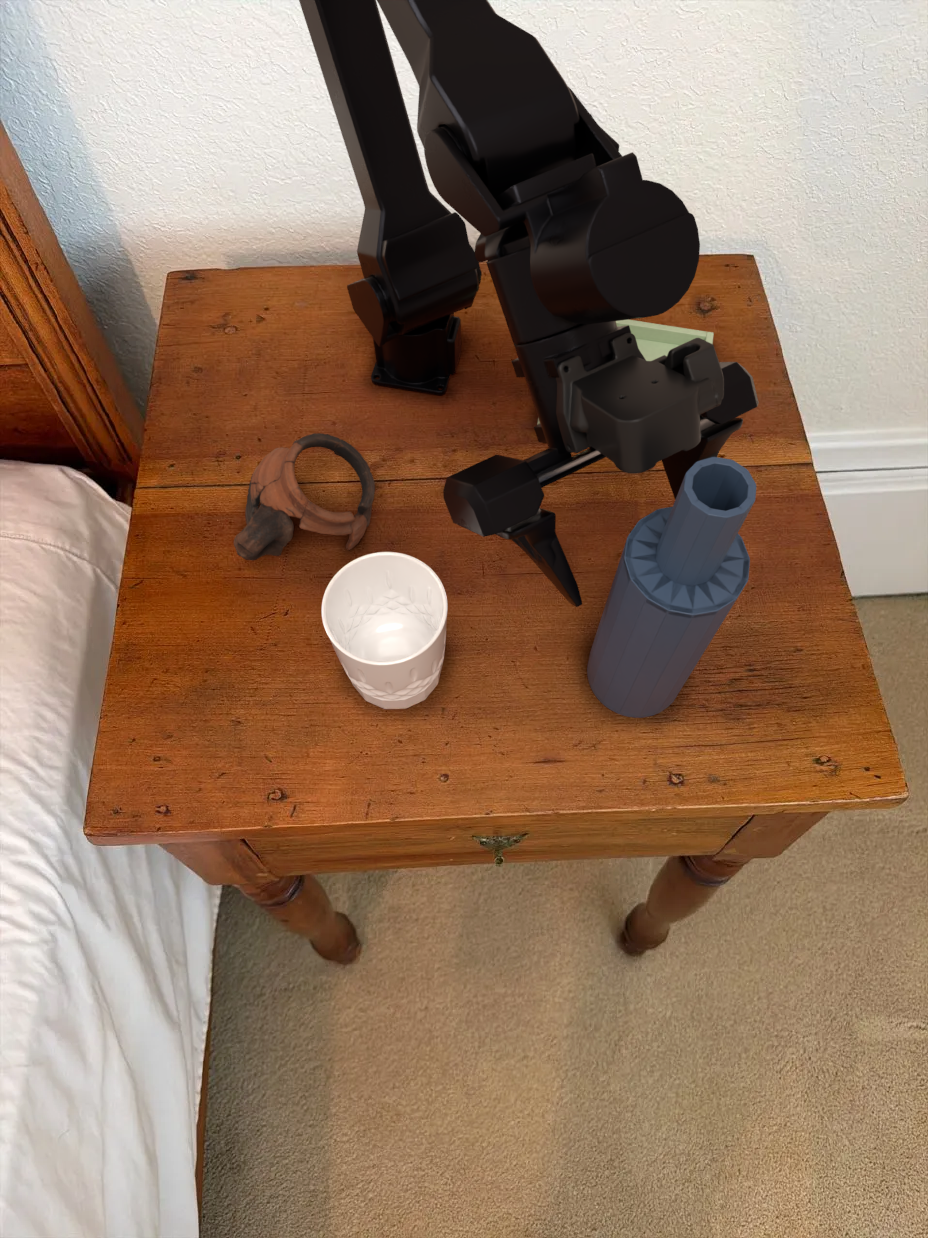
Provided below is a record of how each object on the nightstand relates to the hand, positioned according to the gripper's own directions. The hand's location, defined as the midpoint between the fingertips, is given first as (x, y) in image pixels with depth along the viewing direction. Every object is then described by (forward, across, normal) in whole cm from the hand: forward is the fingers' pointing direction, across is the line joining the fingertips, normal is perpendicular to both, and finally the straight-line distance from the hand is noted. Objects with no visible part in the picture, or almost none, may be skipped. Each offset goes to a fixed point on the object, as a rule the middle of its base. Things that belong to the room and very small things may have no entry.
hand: (639, 572), depth 55 cm
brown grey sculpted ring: (-7, -16, +22) cm, 28 cm away
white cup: (+4, -15, +12) cm, 19 cm away
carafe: (+10, 0, +6) cm, 11 cm away
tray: (-6, +14, +22) cm, 26 cm away
